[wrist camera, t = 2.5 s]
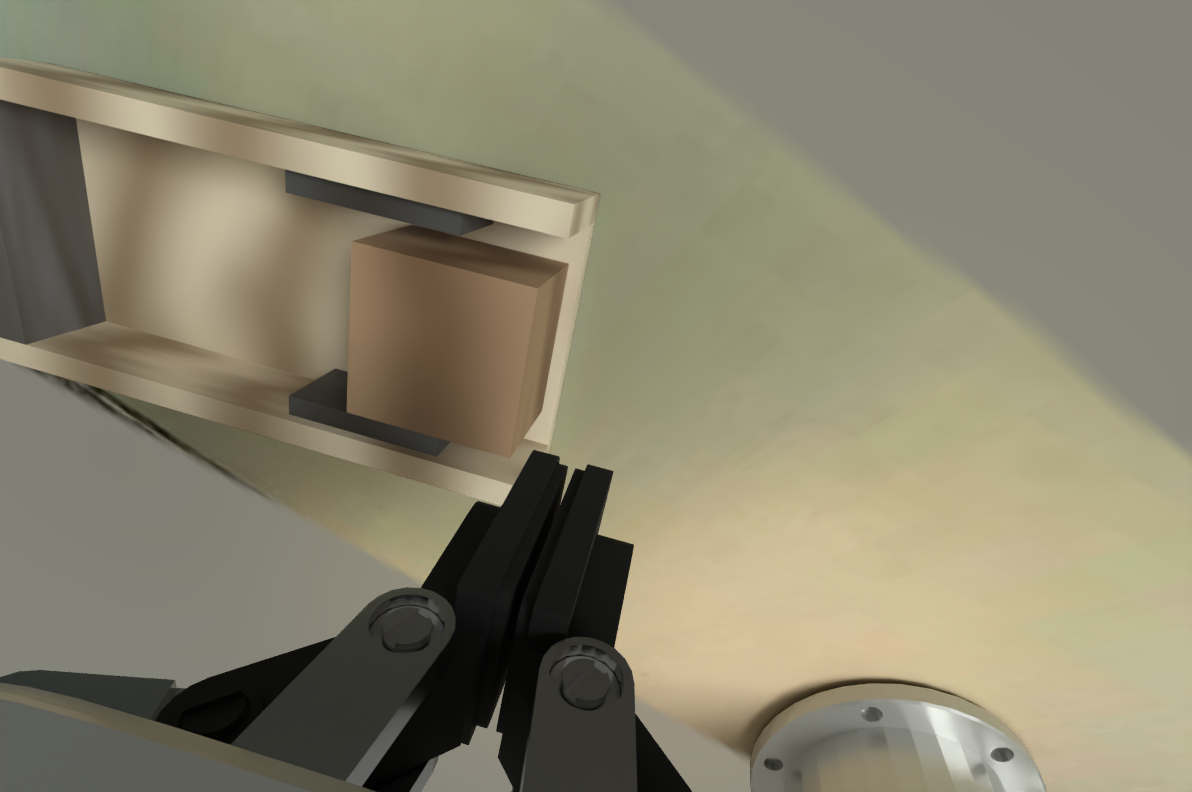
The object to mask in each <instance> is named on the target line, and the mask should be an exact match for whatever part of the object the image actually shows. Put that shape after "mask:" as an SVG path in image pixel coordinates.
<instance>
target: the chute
mask: <svg viewBox="0 0 1192 792" xmlns="http://www.w3.org/2000/svg"><path fill="white" fill-rule="evenodd" d="M599 197H600V193H596V192H592V191H587V190H583V189H579V188H575V187H571V186H566V185H562V184H558V183H554V182H549V181H545V180H541V179H537V178H532V177H528V176H524V175H520V174H516V173H511V172H507V171H503V170H499V169H494V168H490V167H486V166H482V165H478V164H473V163H469V162H465V161H461V160H456V159H452V158H448V157H444V156H440V155H435V154H431V153H427V152H423V151H418V150H414V149H410V148H406V147H401V146H397V145H393V144H389V143H385V142H380V141H376V140H372V139H368V138H363V137H359V136H355V135H351V134H347V133H342V132H338V131H334V130H330V129H325V128H321V127H317V126H313V125H309V124H304V123H300V122H296V121H292V120H287V119H283V118H279V117H275V116H270V115H266V114H262V113H258V112H254V111H249V110H245V109H241V108H237V107H232V106H228V105H224V104H220V103H216V102H211V101H207V100H203V99H199V98H194V97H190V96H186V95H182V94H178V93H173V92H169V91H165V90H161V89H156V88H152V87H148V86H144V85H140V84H135V83H131V82H127V81H123V80H118V79H114V78H110V77H106V76H101V75H97V74H93V73H89V72H85V71H80V70H76V69H72V68H68V67H63V66H59V65H55V64H51V63H43V62H34V61H26V60H17V59H8V58H0V359H2V360H5V361H9V362H12V363H15V364H19V365H22V366H26V367H29V368H32V369H36V370H39V371H43V372H46V373H50V374H53V375H56V376H60V377H63V378H67V379H70V380H74V381H77V382H80V383H84V384H87V385H91V386H94V387H97V388H101V389H104V390H108V391H111V392H115V393H118V394H121V395H125V396H128V397H132V398H135V399H139V400H142V401H145V402H149V403H152V404H156V405H159V406H162V407H166V408H169V409H173V410H176V411H180V412H183V413H186V414H190V415H193V416H197V417H200V418H203V419H207V420H210V421H214V422H217V423H221V424H224V425H227V426H231V427H234V428H238V429H241V430H245V431H248V432H251V433H255V434H258V435H262V436H265V437H268V438H272V439H275V440H279V441H282V442H286V443H289V444H292V445H296V446H299V447H303V448H306V449H309V450H313V451H316V452H320V453H323V454H327V455H330V456H333V457H337V458H340V459H344V460H347V461H351V462H354V463H357V464H361V465H364V466H368V467H371V468H374V469H378V470H381V471H385V472H388V473H392V474H395V475H398V476H402V477H405V478H409V479H412V480H416V481H419V482H422V483H426V484H429V485H433V486H436V487H439V488H443V489H446V490H450V491H453V492H457V493H460V494H463V495H467V496H470V497H474V498H477V499H480V500H484V501H487V502H491V503H494V504H498V505H501V506H502V504H503V502H504V501H505V499H506V497H507V495H508V493H509V492H510V490H511V488H512V486H513V485H514V483H515V481H516V479H517V477H518V476H519V474H520V472H521V470H522V468H523V467H524V465H525V463H526V461H527V460H528V458H529V456H530V454H531V452H532V451H533V450H537V451H541V452H544V453H548V454H549V452H550V447H551V442H552V437H553V432H554V427H555V422H556V416H557V411H558V406H559V401H560V396H561V391H562V386H563V381H564V376H565V370H566V365H567V360H568V355H569V350H570V345H571V340H572V335H573V330H574V325H575V319H576V314H577V309H578V304H579V299H580V294H581V289H582V284H583V279H584V273H585V268H586V263H587V258H588V253H589V248H590V243H591V238H592V233H593V228H594V222H595V217H596V212H597V207H598V202H599ZM409 225H416V226H420V227H424V228H428V229H432V230H436V231H440V232H444V233H448V234H452V235H456V236H460V237H464V238H468V239H472V240H476V241H480V242H484V243H488V244H492V245H496V246H500V247H504V248H508V249H512V250H516V251H520V252H524V253H528V254H532V255H536V256H540V257H544V258H548V259H552V260H556V261H560V262H564V263H568V264H569V266H568V272H567V277H566V283H565V288H564V294H563V299H562V304H561V310H560V315H559V321H558V326H557V332H556V337H555V343H554V348H553V354H552V359H551V364H550V370H549V375H548V381H547V386H546V392H545V397H544V403H543V408H542V412H541V413H540V415H539V416H538V418H537V419H536V420H535V422H534V423H533V425H532V426H531V428H530V429H529V431H528V432H527V434H526V435H525V437H524V438H523V440H522V441H521V443H520V444H519V446H518V447H517V449H516V450H515V452H514V453H513V455H512V456H511V457H510V459H509V458H506V457H502V456H499V455H495V454H492V453H488V452H485V451H481V450H478V449H474V448H471V447H467V446H464V445H460V444H456V443H453V442H449V441H446V440H442V439H439V438H435V437H432V436H428V435H425V434H421V433H418V432H414V431H411V430H407V429H404V428H400V427H397V426H393V425H390V424H386V423H383V422H379V421H376V420H372V419H369V418H365V417H361V416H358V415H354V414H351V413H347V380H348V346H349V312H350V279H351V245H352V241H354V240H357V239H361V238H365V237H369V236H372V235H376V234H380V233H383V232H387V231H391V230H395V229H398V228H402V227H406V226H409Z"/></svg>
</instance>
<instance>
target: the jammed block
mask: <svg viewBox="0 0 1192 792" xmlns="http://www.w3.org/2000/svg"><path fill="white" fill-rule="evenodd" d="M568 266H569V264H568V263H564V262H560V261H556V260H552V259H548V258H544V257H540V256H536V255H532V254H528V253H524V252H520V251H516V250H512V249H508V248H504V247H500V246H496V245H492V244H488V243H484V242H480V241H476V240H472V239H468V238H464V237H460V236H456V235H452V234H448V233H444V232H440V231H436V230H432V229H428V228H424V227H420V226H416V225H409V226H406V227H402V228H398V229H395V230H391V231H387V232H383V233H380V234H376V235H372V236H369V237H365V238H361V239H357V240H354V241H352V245H351V279H350V312H349V346H348V380H347V413H351V414H354V415H358V416H361V417H365V418H369V419H372V420H376V421H379V422H383V423H386V424H390V425H393V426H397V427H400V428H404V429H407V430H411V431H414V432H418V433H421V434H425V435H428V436H432V437H435V438H439V439H442V440H446V441H449V442H453V443H456V444H460V445H464V446H467V447H471V448H474V449H478V450H481V451H485V452H488V453H492V454H495V455H499V456H502V457H506V458H509V459H510V457H511V456H512V455H513V453H514V452H515V450H516V449H517V447H518V446H519V444H520V443H521V441H522V440H523V438H524V437H525V435H526V434H527V432H528V431H529V429H530V428H531V426H532V425H533V423H534V422H535V420H536V419H537V418H538V416H539V415H540V413H541V412H542V408H543V403H544V397H545V392H546V386H547V381H548V375H549V370H550V364H551V359H552V354H553V348H554V343H555V337H556V332H557V326H558V321H559V315H560V310H561V304H562V299H563V294H564V288H565V283H566V277H567V272H568Z"/></svg>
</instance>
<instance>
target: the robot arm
mask: <svg viewBox="0 0 1192 792" xmlns="http://www.w3.org/2000/svg"><path fill="white" fill-rule="evenodd" d="M559 460H560V457H559V456H555V455H552V454H548V453H544V452H541V451H537V450H533V451H532V452H531V454H530V456H529V458H528V460H527V461H526V463H525V465H524V467H523V468H522V470H521V472H520V474H519V476H518V477H517V479H516V481H515V483H514V485H513V486H512V488H511V490H510V492H509V493H508V495H507V497H506V499H505V501H504V502H503V504H502V506H501V507H497V506H494V505H490V504H487V503H483V502H480V501H478V502H476V503H475V504H474V505H473V507H472V508H471V510H470V511H469V513H468V514H467V516H466V518H465V519H464V521H463V522H462V524H461V525H460V527H459V529H458V530H457V532H456V533H455V535H454V536H453V538H452V540H451V541H450V543H449V544H448V546H447V547H446V549H445V551H444V552H443V554H442V555H441V557H440V558H439V560H438V562H437V563H436V565H435V566H434V568H433V569H432V571H431V573H430V574H429V576H428V577H427V579H426V580H425V582H424V584H423V585H422V587H421V588H408V587H406V588H401V589H395V590H391V591H389V592H387V593H384V594H382V595H380V596H378V597H377V598H375V599H374V600H373V601H371V602H370V603H369V604H368V605H367V606H366V607H365V608H364V609H363V610H362V611H361V612H360V613H359V614H358V615H357V616H356V617H355V618H354V619H353V620H352V621H351V622H350V623H349V624H348V625H347V626H346V627H345V628H344V629H343V630H342V631H341V632H340V633H339V634H338V635H337V636H336V637H334V638H331V639H328V640H325V641H322V642H319V643H316V644H313V645H309V646H306V647H303V648H300V649H297V650H294V651H290V652H288V653H284V654H281V655H278V656H275V657H272V658H269V659H265V660H262V661H259V662H256V663H253V664H250V665H247V666H244V667H241V668H237V669H234V670H231V671H228V672H225V673H222V674H219V675H216V676H213V677H210V678H207V679H205V680H202V681H200V682H198V683H196V684H193V685H191V686H189V687H188V688H186V689H184V688H176V683H175V680H167V679H153V678H141V677H127V676H114V675H101V674H87V673H73V672H61V671H48V670H32V671H19V672H15V673H12V674H9V675H6V676H2V677H0V792H421V790H422V789H423V787H424V785H425V784H426V782H427V781H428V779H429V777H430V776H431V774H432V772H433V770H434V768H435V766H436V763H437V761H438V756H439V755H441V754H443V753H445V752H448V751H450V750H452V749H454V748H456V747H458V746H460V745H461V743H463V744H466V745H469V743H470V740H471V738H472V735H473V733H474V730H475V728H476V725H477V726H481V727H484V728H487V727H488V725H489V723H490V720H491V718H492V715H493V713H494V710H495V707H496V705H497V702H498V699H499V697H500V694H501V692H502V689H503V686H504V684H505V687H504V692H503V697H502V703H501V708H500V714H499V718H498V724H497V729H496V731H497V732H500V733H503V735H502V740H501V745H500V750H499V755H498V759H499V760H500V762H501V764H502V766H503V768H504V770H505V772H506V774H507V776H508V778H509V780H510V782H511V784H512V786H513V788H512V792H692V791H691V789H690V788H689V787H688V785H687V784H686V783H685V781H684V780H683V778H682V777H681V776H680V774H679V773H678V772H677V770H676V769H675V767H674V766H673V765H672V763H671V762H670V761H669V759H668V758H667V756H666V755H665V754H664V752H663V751H662V750H661V748H660V747H659V745H658V744H657V743H656V741H655V740H654V739H653V737H652V736H651V734H650V733H649V732H648V730H647V729H646V727H645V726H644V725H643V723H642V722H641V721H640V719H639V718H638V716H637V715H636V714H635V690H634V680H633V675H632V670H631V669H630V667H629V665H628V663H627V661H626V660H625V658H624V657H623V656H622V655H621V654H620V653H619V652H618V651H617V650H616V649H615V648H614V646H615V641H616V635H617V630H618V625H619V620H620V615H621V610H622V605H623V599H624V594H625V589H626V584H627V579H628V574H629V569H630V564H631V558H632V553H633V548H634V545H633V544H630V543H626V542H622V541H619V540H615V539H612V538H608V537H605V536H601V535H598V531H599V527H600V523H601V519H602V515H603V511H604V507H605V503H606V499H607V495H608V491H609V487H610V483H611V479H612V475H613V471H611V470H607V469H603V468H600V467H596V466H592V465H589V464H588V465H587V467H586V469H585V471H583V470H580V469H575V471H574V473H573V475H572V478H571V480H570V483H569V485H568V488H567V490H566V493H565V495H564V498H563V500H562V502H561V498H562V494H563V489H564V484H565V479H566V475H567V469H568V466H565V465H561V464H559ZM560 503H561V505H560ZM505 681H506V682H505ZM750 784H751V791H752V792H1046V786H1045V784H1044V781H1043V779H1042V777H1041V774H1040V772H1039V770H1038V767H1037V766H1036V763H1035V761H1034V759H1033V758H1032V756H1031V754H1030V753H1029V751H1028V749H1027V748H1026V746H1025V744H1024V743H1023V741H1022V740H1021V739H1020V738H1019V737H1018V736H1017V735H1016V734H1015V733H1014V732H1013V731H1012V730H1011V729H1010V728H1009V727H1008V726H1007V725H1006V724H1005V723H1004V722H1002V721H1001V720H999V719H998V718H996V717H995V716H994V715H992V714H991V713H989V712H988V711H986V710H985V709H983V708H981V707H979V706H976V705H974V704H972V703H970V702H968V701H966V700H964V699H962V698H959V697H956V696H953V695H950V694H946V693H943V692H940V691H936V690H933V689H929V688H923V687H916V686H910V685H904V684H881V683H869V684H860V685H851V686H843V687H839V688H835V689H831V690H827V691H823V692H820V693H817V694H814V695H812V696H810V697H808V698H805V699H803V700H801V701H798V702H796V703H794V704H793V705H791V706H790V707H788V708H787V709H785V710H784V711H782V712H781V713H779V714H778V715H777V716H776V717H775V718H774V719H773V720H772V721H771V722H770V723H769V724H768V725H767V726H766V727H765V728H764V729H763V731H762V732H761V734H760V736H759V738H758V739H757V741H756V743H755V745H754V748H753V752H752V756H751V760H750Z"/></svg>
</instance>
